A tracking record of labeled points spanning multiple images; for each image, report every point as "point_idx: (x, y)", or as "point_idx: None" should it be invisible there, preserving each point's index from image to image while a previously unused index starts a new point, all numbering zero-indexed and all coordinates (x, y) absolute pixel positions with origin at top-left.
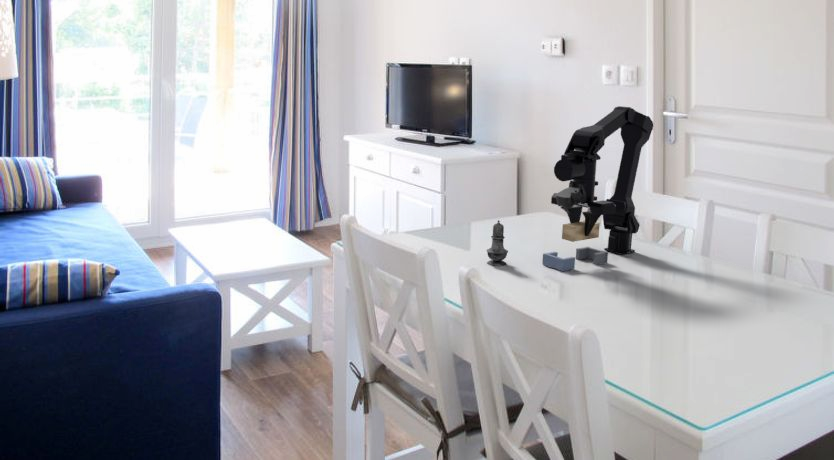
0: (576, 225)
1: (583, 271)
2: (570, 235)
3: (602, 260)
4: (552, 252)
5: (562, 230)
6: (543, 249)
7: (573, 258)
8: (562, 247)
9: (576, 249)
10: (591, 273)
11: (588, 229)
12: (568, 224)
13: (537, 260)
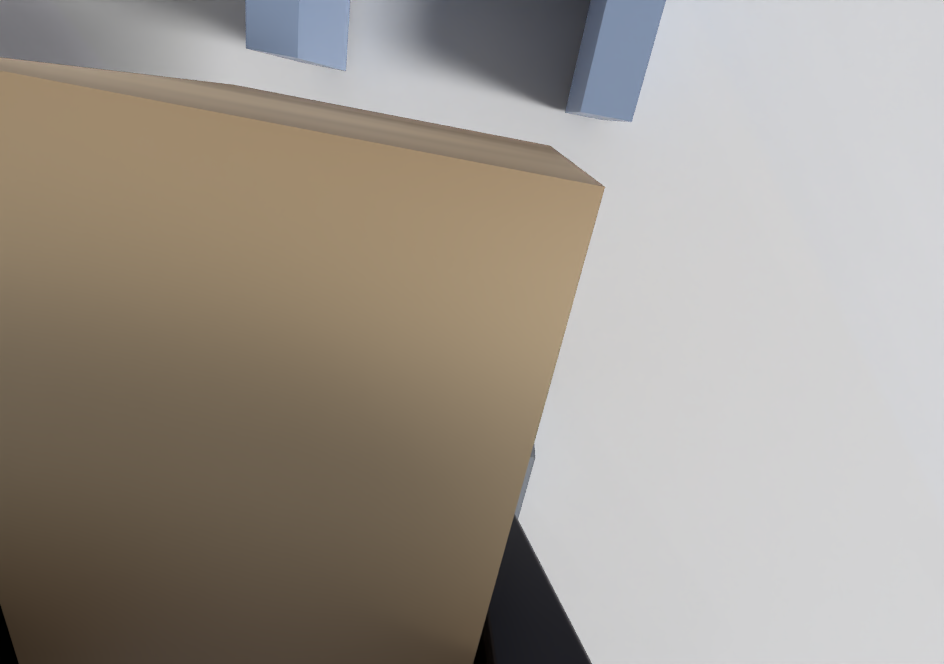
0: (88, 431)
1: (203, 68)
2: (246, 94)
3: None
4: (634, 39)
5: (564, 159)
6: (926, 477)
7: (248, 10)
8: (802, 609)
9: (532, 452)
10: (108, 66)
11: None
12: (392, 360)
13: (816, 67)
